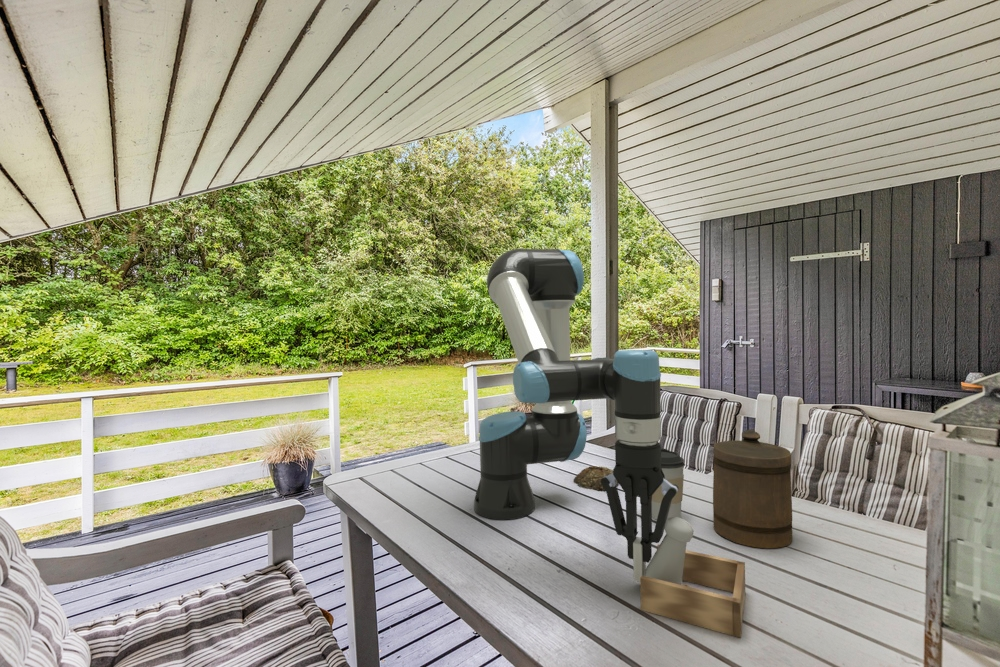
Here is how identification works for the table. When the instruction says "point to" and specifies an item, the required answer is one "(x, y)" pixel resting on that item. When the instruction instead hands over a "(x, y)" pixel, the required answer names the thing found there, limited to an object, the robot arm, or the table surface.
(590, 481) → the bread roll
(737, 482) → the wooden container
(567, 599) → the table surface
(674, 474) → the coffee cup
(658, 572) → the salt shaker
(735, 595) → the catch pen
